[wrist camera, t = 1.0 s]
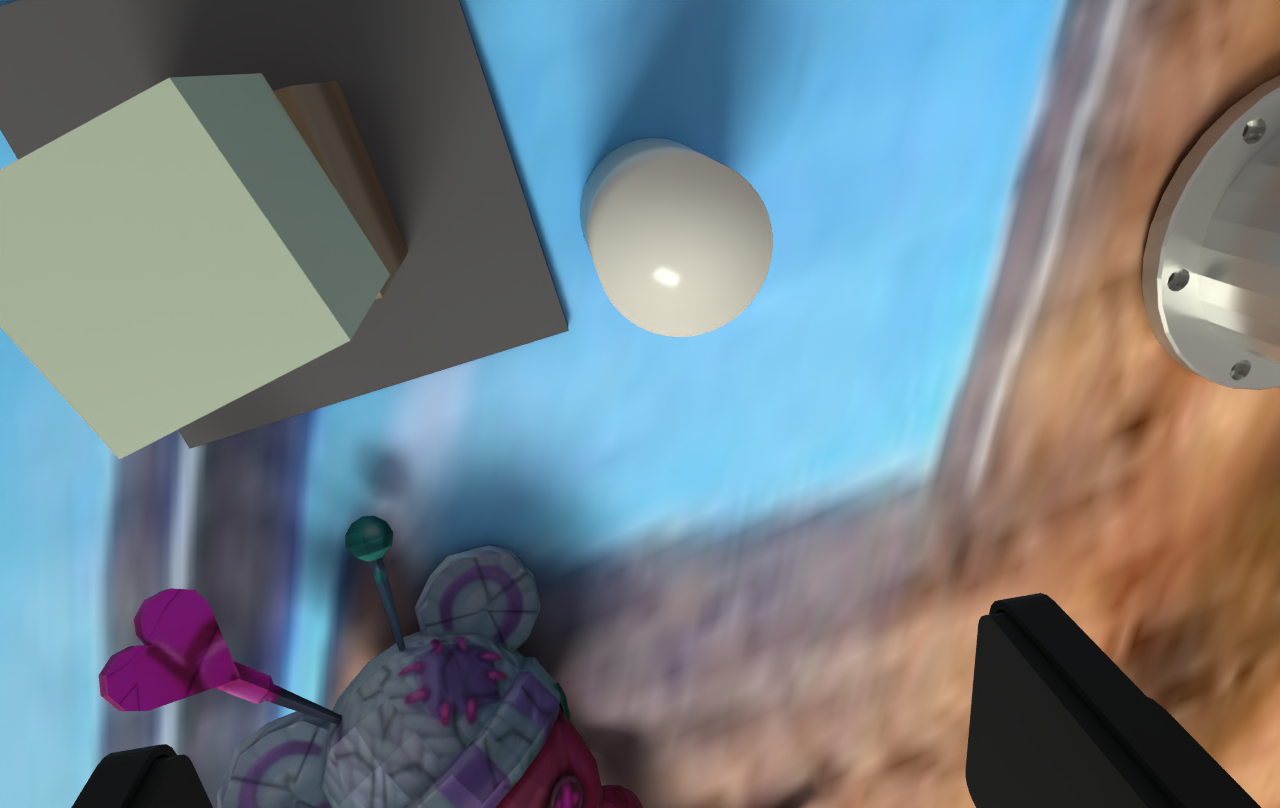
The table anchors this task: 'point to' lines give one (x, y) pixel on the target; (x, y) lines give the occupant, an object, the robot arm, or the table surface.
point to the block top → (178, 257)
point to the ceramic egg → (675, 237)
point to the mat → (391, 132)
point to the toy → (389, 700)
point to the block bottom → (345, 164)
